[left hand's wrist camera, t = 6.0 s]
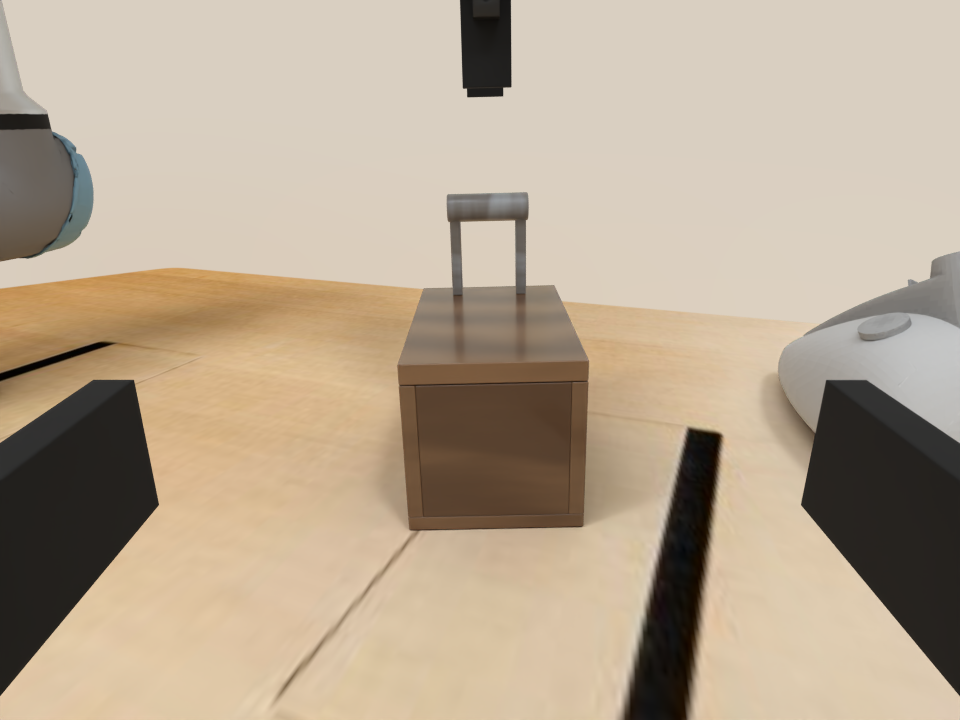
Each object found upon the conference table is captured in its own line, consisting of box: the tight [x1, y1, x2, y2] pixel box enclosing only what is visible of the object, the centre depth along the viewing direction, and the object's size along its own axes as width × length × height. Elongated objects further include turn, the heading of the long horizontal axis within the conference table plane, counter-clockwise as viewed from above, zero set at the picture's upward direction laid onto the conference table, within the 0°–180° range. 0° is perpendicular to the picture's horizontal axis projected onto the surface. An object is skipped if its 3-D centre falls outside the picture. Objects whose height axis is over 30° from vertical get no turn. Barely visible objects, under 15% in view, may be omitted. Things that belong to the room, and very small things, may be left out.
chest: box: [399, 381, 588, 530], centre depth 43 cm, size 16×10×9 cm, turn 0°
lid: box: [397, 192, 589, 385], centre depth 41 cm, size 17×10×8 cm, turn 0°
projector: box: [778, 252, 960, 443], centre depth 43 cm, size 22×23×15 cm
